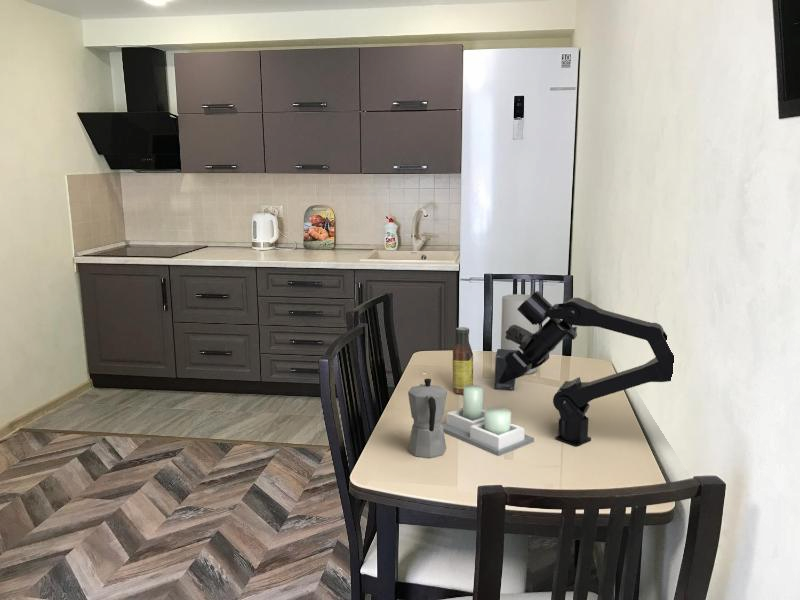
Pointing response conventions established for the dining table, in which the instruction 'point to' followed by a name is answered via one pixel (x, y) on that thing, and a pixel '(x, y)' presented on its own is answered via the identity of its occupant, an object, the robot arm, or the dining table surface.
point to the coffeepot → (427, 420)
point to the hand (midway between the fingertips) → (506, 378)
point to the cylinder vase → (514, 321)
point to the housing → (488, 430)
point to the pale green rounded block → (472, 402)
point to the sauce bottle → (462, 361)
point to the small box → (502, 370)
